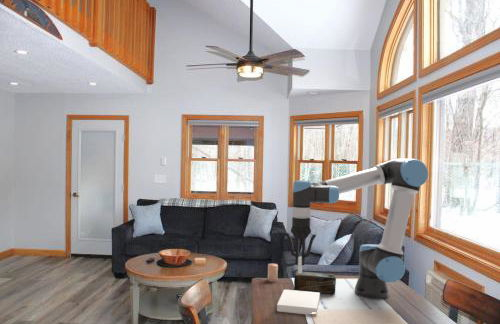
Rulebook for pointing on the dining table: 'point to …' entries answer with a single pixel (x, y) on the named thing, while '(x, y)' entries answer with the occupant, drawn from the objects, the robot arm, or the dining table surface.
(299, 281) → the beverage carton
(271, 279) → the peach rounded cylinder
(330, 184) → the robot arm
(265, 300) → the dining table surface
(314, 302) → the white flat slab
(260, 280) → the dining table surface
